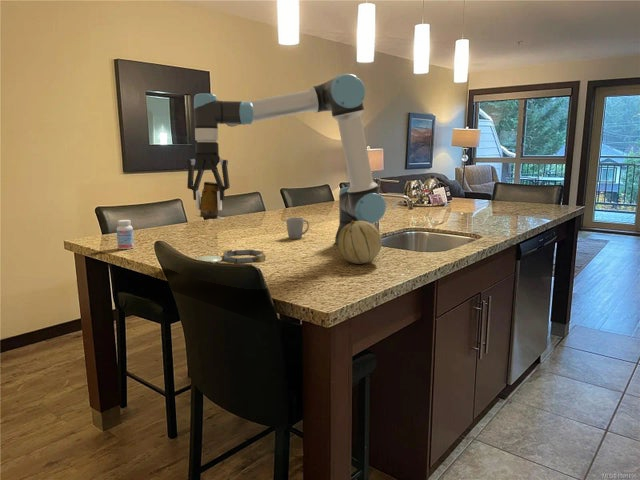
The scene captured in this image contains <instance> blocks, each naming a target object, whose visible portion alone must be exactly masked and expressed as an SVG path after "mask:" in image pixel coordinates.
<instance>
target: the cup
mask: <svg viewBox="0 0 640 480" xmlns="http://www.w3.org/2000/svg"><path fill="white" fill-rule="evenodd" d="M285 220H286V221H285V222H286V229H287V235H288V239H291V240H298V239H299V238H300V239H301V238H302V237H303V235H305V234H306V233H307V232H308V231H309V227H310V225H309V224H310V223H309V221H308V220H307V219H304V218H303V217H296V216H295V217H287V218H286V219H285ZM304 223H306V225H307V228H306V229H305V230H304V231H303V229H304ZM300 239H299V240H300Z"/></svg>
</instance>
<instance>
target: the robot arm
mask: <svg viewBox="0 0 640 480" xmlns="http://www.w3.org/2000/svg"><path fill="white" fill-rule="evenodd" d="M365 96H366V88H365V85H364V83H363V81H362V79H360V78H359V77H358V76H356V75H355V74H351V73H344V74H340V75H337V76H336V77H333V78H331V79H329V80H327V81H326V82H324V83H321V84H317V85H314V86H310V87H309V89H308V90H302V91H296V92H293V93H292V92H291V93H285V94H281V95H275V96H270V97H265V98H260V99H255V100H249V101H244V100H242V101H234V100H231V101H229V100H228V101H227V100H224V101H223V100H218V97H217V95H216V94H214V93H197V94H195V95H194V97H193V116H194V119H193V120H194V138H195V139H194V140H195V141H196V142H195V156H194V158H192V159H187V160H186V163H187V167H188V169H187V171H188V172H187V186H186V187H187V189H188V190H191V191H192V196H193V197H192V198H193V201H195V202H196V203H195V204H196V206H195V207H196V211H200V210H201V198H202V191H201V190H199V189H200V184H201V181H202V178H203V175H204V173H205V170H210V171H211V173H212V175H213V177H214V179H215V181H216V182H215V183H217V185H218V187H219V191H217V200H218V211H223V201H225V199H226V197H225V191H226V190H229V189H230V180H229V172H228V165H229V160H228V159H222V158H220V154H219V153H220V151H219V143H218V141H219V125H226V126H227V127H231V128H233V127H237V126H240V125H243V126H246V125H252V124H253V123H254V122H255V123H256V122H260V121H266V120H270V119H276V118H280V117H282V118H283V117H286V116H290V115H297V114H301V113H302V114H303V113H307V112H314V114H315V113H320V112H321V113H322V112H331V116H332V119H334V120H336V121H337V125H338V131H339V136H340V139H341V145H342V151H343V155H344V159H345V160H344V161H345V165H346V171H347V176H348V181H349V186H347V187H341V188H340V189H339V194H338V202H339V203H338V205H339V208H338V209H339V211H338V212H339V213H338V215H339V217H338V219H339V224H338V226H337V227H338V228H337V230H336V231H337V232H336V234H335V237H334V243H335V244H336V245H338V236H339V233H340V231H341V230H342V229H343V228H344V227H345V226H346V225H347V224H349V223H351V221H367V222H369V223H371V224H372V225H373V224H375V223H378V222H379V221H380V220H381V219H383V217H384V215H385V213H386V210H387V205H386V200H385V199H384V197H383V196H382V195H380V190H379V185H378V183H376V182H375V181H374V179H373V174H372V169H371V164H370V158H369V152H368V148H367V147H368V146H367V142H366V141H367V140H366V137H365V136H366V135H365V131H364V126H363V121H362V120H363V119H362V115H363V113H364V112H365V107H364V100H365ZM218 124H219V125H218ZM219 163H220V166H221V170H222V171H221V172H222V178H223V181H222V178H221V175H220V173H219V170H218V167H217V166H218V164H219ZM195 164H197V165H198V169H197V173H196V177H194V175H195ZM194 178H195V179H194Z"/></svg>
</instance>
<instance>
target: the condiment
mask: <svg viewBox="0 0 640 480" xmlns="http://www.w3.org/2000/svg"><path fill="white" fill-rule="evenodd" d="M217 191H219V187H218V185H217V182H214V181H213V182H212V181H205V182H203V188H202V191H201V209H200V210H199V212H200V214H194V216H196V217H200V218H205V219H211V220H224V219H227V217H223V216H219V210H218V200H217Z"/></svg>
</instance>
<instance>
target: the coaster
mask: <svg viewBox="0 0 640 480" xmlns="http://www.w3.org/2000/svg"><path fill="white" fill-rule="evenodd" d="M194 259H198V260H203V261H211V262H218V263H220V262H222V261H223V258H222V257H221V256H216V255H205V256H204V255H203V256H199V257H195V258H194Z"/></svg>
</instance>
